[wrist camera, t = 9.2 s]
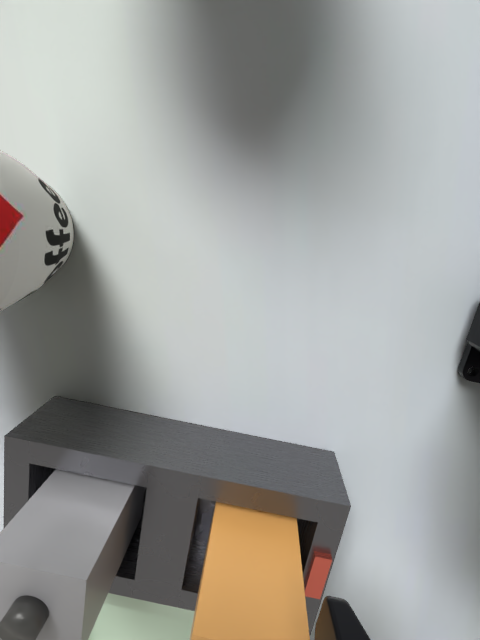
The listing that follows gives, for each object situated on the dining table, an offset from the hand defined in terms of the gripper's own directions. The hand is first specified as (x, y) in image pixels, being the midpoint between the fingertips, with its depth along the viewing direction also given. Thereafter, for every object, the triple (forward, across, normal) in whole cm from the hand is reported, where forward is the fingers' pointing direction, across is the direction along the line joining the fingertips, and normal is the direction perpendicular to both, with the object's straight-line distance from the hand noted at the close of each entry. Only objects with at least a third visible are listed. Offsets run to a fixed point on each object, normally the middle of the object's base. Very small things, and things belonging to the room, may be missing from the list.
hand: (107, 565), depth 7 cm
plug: (+11, -4, +8) cm, 14 cm away
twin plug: (+11, +4, +8) cm, 14 cm away
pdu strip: (+12, 0, +8) cm, 14 cm away
